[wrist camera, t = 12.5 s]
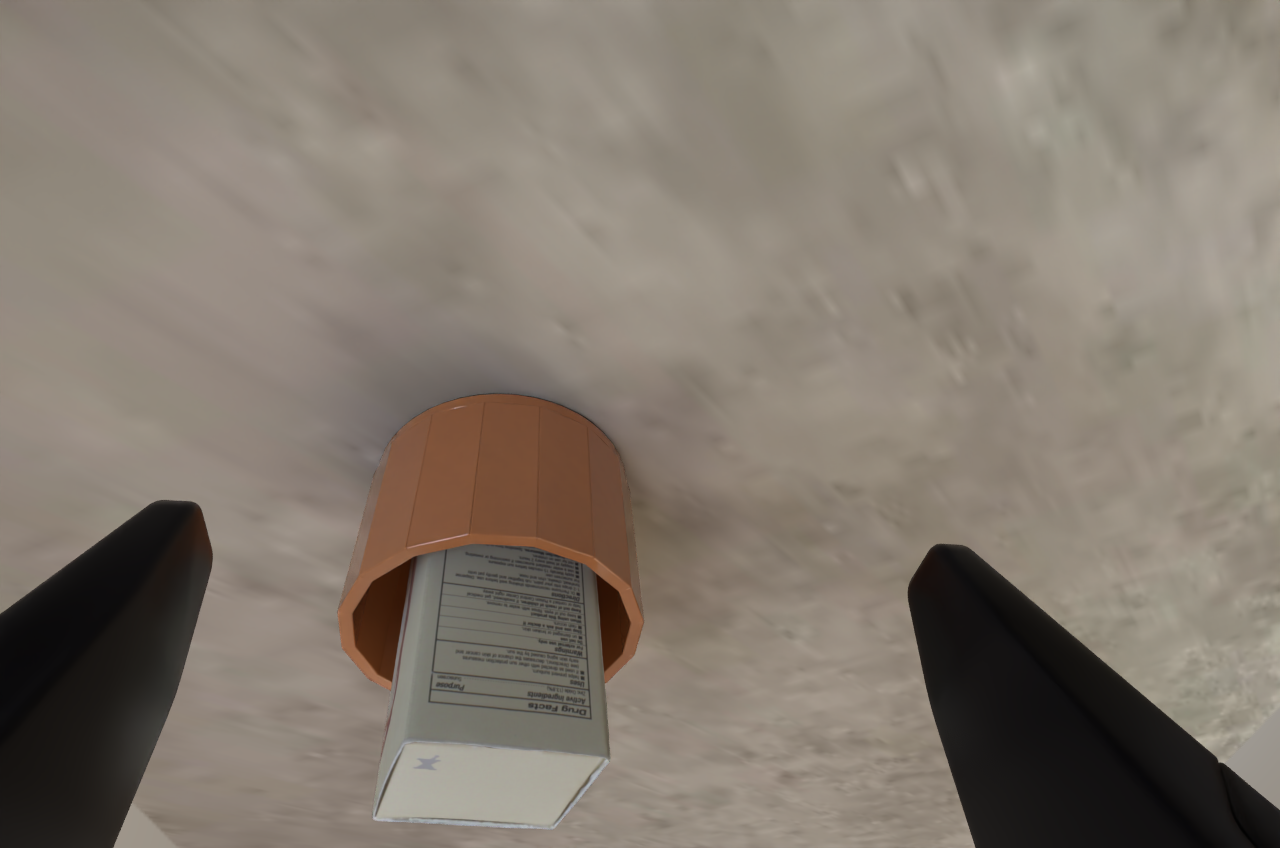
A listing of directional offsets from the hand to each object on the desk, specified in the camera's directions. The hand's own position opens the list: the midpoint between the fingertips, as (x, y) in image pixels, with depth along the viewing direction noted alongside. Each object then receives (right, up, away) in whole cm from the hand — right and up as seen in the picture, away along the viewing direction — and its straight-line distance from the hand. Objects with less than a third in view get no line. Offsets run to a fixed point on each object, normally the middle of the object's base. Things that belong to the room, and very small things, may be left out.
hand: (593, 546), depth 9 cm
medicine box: (-4, -1, +17) cm, 17 cm away
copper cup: (-4, -1, +17) cm, 18 cm away
